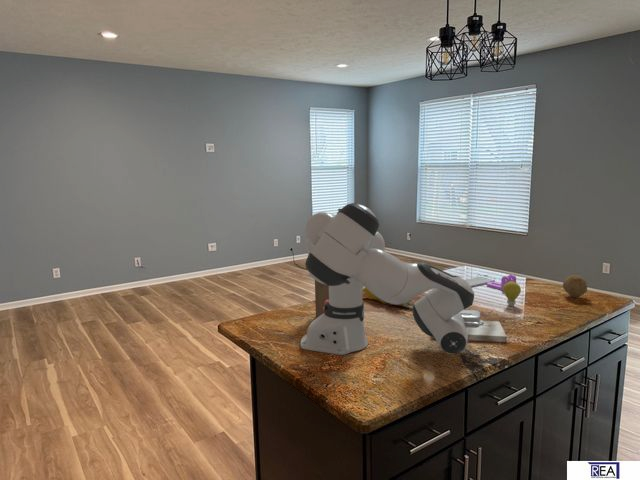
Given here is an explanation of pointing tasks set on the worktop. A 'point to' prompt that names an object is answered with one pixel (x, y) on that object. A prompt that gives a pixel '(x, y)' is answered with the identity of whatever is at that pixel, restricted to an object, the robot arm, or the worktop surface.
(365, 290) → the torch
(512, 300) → the light bulb
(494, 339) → the birch board
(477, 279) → the baseboard molding
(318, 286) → the wooden block
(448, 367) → the worktop surface
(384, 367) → the worktop surface
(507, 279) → the bracket
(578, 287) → the natural sponge
